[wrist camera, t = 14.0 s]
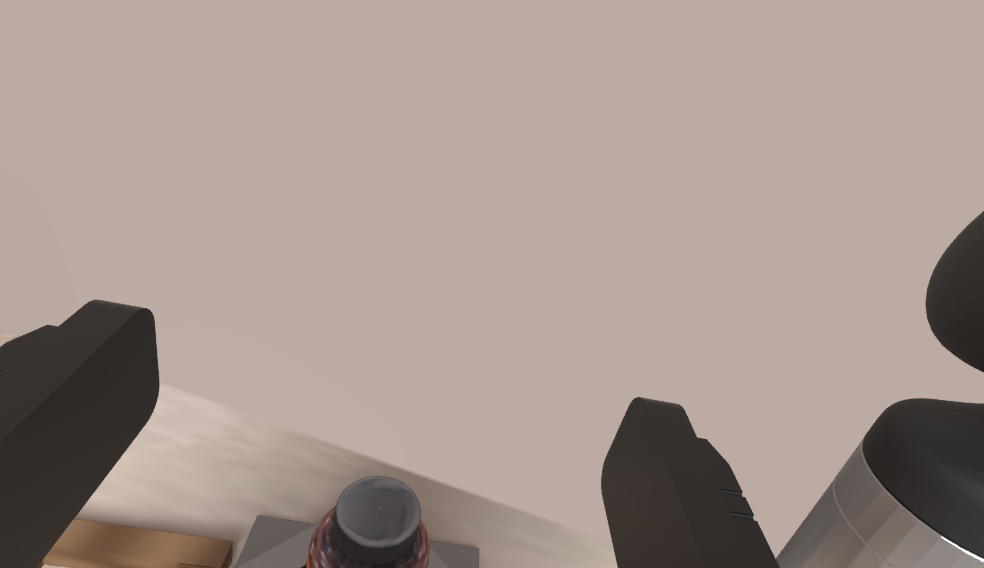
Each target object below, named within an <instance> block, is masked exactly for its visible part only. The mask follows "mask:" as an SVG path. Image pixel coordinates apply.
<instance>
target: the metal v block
mask: <svg viewBox="0 0 984 568" xmlns="http://www.w3.org/2000/svg"><path fill="white" fill-rule="evenodd" d="M318 524H319V523H317V524H311V523H304V522H297V521H291V520H284V519H277V518H271V517H264V516H257V518H256V521H255V523H254V525H253V528H252V530H251V532H250V535H249V537H248V539H247V541H246V544H245V546H244V548H243V551H242V553H241V555H240V558H239V560H238V562H237V565H236V567H235V568H306V566H307V565H306V562H307V559H308V552H309V547H310V542H311V538H312V536H313V533H314V531H315V529H316V527H317V526H318ZM429 545H430V553H429V562H428V567H427V568H479V548H472V547H465V546H459V545H452V544H445V543H439V542H432V541H429Z"/></svg>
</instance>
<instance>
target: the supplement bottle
mask: <svg viewBox="0 0 984 568" xmlns="http://www.w3.org/2000/svg"><path fill="white" fill-rule="evenodd" d="M420 516H421V509H420V503H419V501H418V499H417V497H416V495H415V494H414V492H413V491H412V490H411V489H410V488H409V487H408V486H407V485H405V484H404V483H402V482H400V481H398V480H396V479H393V478H389V477H382V476H375V477H367V478H364V479H360V480H358V481H356V482H354V483H352V484H351V485H350V486H348V487H347V488H346V489H345V490H344V491H343V493H342V494H341V496H340V497H339V500H338V502H337V506H335V507H334V508H333V509H331V510H330V511H329V512H328V513H327V514H326V515H325V516H324V517H323V518H322V520H321V521H320V522H319V524H318V526H317V527H316V529H315V531H314V533H313V536H312V538H311V542H310V547H309V552H308V559H307V562H306V565H307V566H306V568H427V567H428V562H429V553H430V545H429V539H428V535H427V531H426V529H425V527H424V525H423V523H422V522H421V520H420Z"/></svg>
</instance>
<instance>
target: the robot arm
mask: <svg viewBox="0 0 984 568" xmlns="http://www.w3.org/2000/svg"><path fill="white" fill-rule="evenodd" d="M926 313H927V319H928V322H929V324H930V327H931V330H932V332H933V333H934V335H935V336H936V337H937V339H938V340H939V342H940V343H941V344H942V345H943V346H944V347H945V348H946V349H947V350H949V351H950V352H951V353H952V354H954V355H955V356H956V357H958V358H959V359H961V360H962V361H964V362H965V363H967V364H969V365H970V366H972V367H974V368H976V369H978V370H980V371H982V372H984V211H983V212H982V213H981V214H980V215H979V216H978V217H977V218H975V219H974V220H973V221H972V222H971V223H970V224H969V225H968V226H967V227H966V228H965V229H964V230H963V231H962V232H961V233H960V234H959V235H958V236H957V237H956V239H955V240H954V241H953V242H952V243H951V244H950V246H949V247H948V248H947V250H946V251H945V252H944V254H943V255H942V257H941V258H940V260H939V261H938V263H937V265H936V267H935V269H934V271H933V273H932V276H931V278H930V281H929V285H928V288H927V295H926ZM158 394H159V371H158V358H157V345H156V333H155V321H154V316H153V314H152V312H151V311H150V310H149V309H147V308H142V307H136V306H130V305H125V304H119V303H113V302H107V301H102V300H92V301H90V302H88V303H87V304H85V305H84V306H83V307H82V308H80V309H79V310H78V311H77V312H76V313H74V314H73V315H72V316H71V317H70V318H68V319H67V320H66V321H65V322H64V323H62V324H61V325H60V326H59V327H57V326H51V325H46V326H44V327H41V328H39V329H37V330H34V331H32V332H30V333H27V334H25V335H23V336H20V337H18V338H16V339H13V340H11V341H9V342H7V343H5V344H4V345H3V346H1V347H0V568H37V567H38V566H39V564H40V563H41V562H42V560H43V559H44V558H45V556H46V555H47V554H48V552H49V551H50V550H51V548H52V547H53V546H54V545H55V543H56V542H57V541H58V539H59V538H60V537H61V535H62V534H63V533H64V531H65V530H66V529H67V527H68V526H69V525H70V523H71V522H72V521H73V519H74V518H75V517H76V516H77V514H78V513H79V512H80V510H81V509H82V508H83V506H84V505H85V504H86V502H87V501H88V500H89V498H90V497H91V496H92V494H93V493H94V492H95V490H96V489H97V488H98V487H99V485H100V484H101V483H102V481H103V480H104V479H105V477H106V476H107V475H108V473H109V472H110V471H111V469H112V468H113V467H114V465H115V464H116V463H117V461H118V460H119V459H120V458H121V456H122V455H123V454H124V452H125V451H126V450H127V448H128V447H129V446H130V444H131V443H132V442H133V440H134V439H135V438H136V436H137V435H138V434H139V432H140V431H141V430H142V429H143V427H144V426H145V425H146V423H147V422H148V420H149V418H150V417H151V415H152V413H153V410H154V408H155V405H156V402H157V398H158ZM601 489H602V497H603V501H604V506H605V510H606V515H607V520H608V524H609V529H610V533H611V538H612V543H613V547H614V552H615V556H616V561H617V566H618V568H984V404H976V403H963V402H954V401H945V400H937V399H924V398H922V399H921V398H918V399H908V400H903V401H899V402H897V403H894V404H893V405H891V406H889V407H888V408H887V409H886V410H885V411H884V412H883V413H882V414H881V415H880V416H879V417H878V419H877V420H876V421H875V423H874V424H873V426H872V427H871V428H870V430H869V431H868V432H867V434H866V435H865V437H864V439H863V440H862V441H861V443H860V444H859V445H858V447H857V448H856V450H855V451H854V452H853V454H852V455H851V456H850V458H849V459H848V461H847V462H846V463H845V465H844V466H843V467H842V469H841V470H840V472H839V473H838V474H837V476H836V477H835V479H834V480H833V482H832V483H831V484H830V486H829V487H828V488H827V490H826V491H825V493H824V494H823V496H822V497H821V498H820V499H819V501H818V502H817V503H816V505H815V506H814V508H813V509H812V510H811V512H810V513H809V514H808V516H807V517H806V518H805V520H804V521H803V523H802V524H801V525H800V527H799V528H798V529H797V531H796V532H795V533H794V535H793V536H792V537H791V539H790V540H789V542H788V543H787V544H786V546H785V547H784V548H783V550H782V551H781V553H780V554H779V555H778V557H777V558H776V559H775V557H774V555H773V553H772V551H771V549H770V547H769V545H768V543H767V541H766V539H765V537H764V535H763V532H762V530H761V528H760V526H759V525H758V522H757V521H754V520H753V516H754V514H753V512H752V510H751V508H750V506H749V504H748V502H747V500H746V498H745V497H742V490H741V488H740V486H739V484H738V482H737V480H736V477H735V476H734V473H733V471H732V469H731V467H730V465H729V464H728V463H727V462H726V460H725V459H724V458H723V457H722V456H721V455H720V454H719V453H718V452H717V450H716V449H715V448H714V447H713V446H712V445H711V444H710V443H709V442H708V440H707V439H702V438H697V437H696V434H695V432H694V430H693V428H692V425H691V423H690V421H689V419H688V416H687V415H686V412H685V410H684V409H683V407H682V406H680V405H679V404H674V403H668V402H662V401H657V400H652V399H645V398H640V397H638V398H635V399H634V400H633V401H632V402H631V403H630V405H629V407H628V409H627V411H626V414H625V416H624V418H623V420H622V423H621V425H620V427H619V429H618V431H617V434H616V436H615V438H614V440H613V443H612V445H611V447H610V449H609V451H608V454H607V456H606V459H605V461H604V465H603V470H602V478H601Z"/></svg>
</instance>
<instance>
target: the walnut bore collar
mask: <svg viewBox="0 0 984 568" xmlns="http://www.w3.org/2000/svg"><path fill="white" fill-rule="evenodd" d="M232 543H233V542H232V541H225V540H218V539H211V538H204V537H197V536H190V535H183V534H176V533H169V532H162V531H155V530H148V529H141V528H134V527H127V526H120V525H113V524H106V523H99V522H92V521H85V520H78V519H73V521H72V522H71V523H70V525H69V526H68V527H67V529H66V530H65V531H64V533H63V534H62V535H61V537H60V538H59V539H58V541H57V542H56V543H55V545H54V546H53V547H52V548H51V550H50V551H49V552H48V554H47V555H46V556H45V558H44V559H43V560H42V562H41V563H40V564H39V566H38V567H37V568H41V567H42V565H43V564H47V565H55V566H62V567H70V568H229V566H230V564H231V561H232Z"/></svg>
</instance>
